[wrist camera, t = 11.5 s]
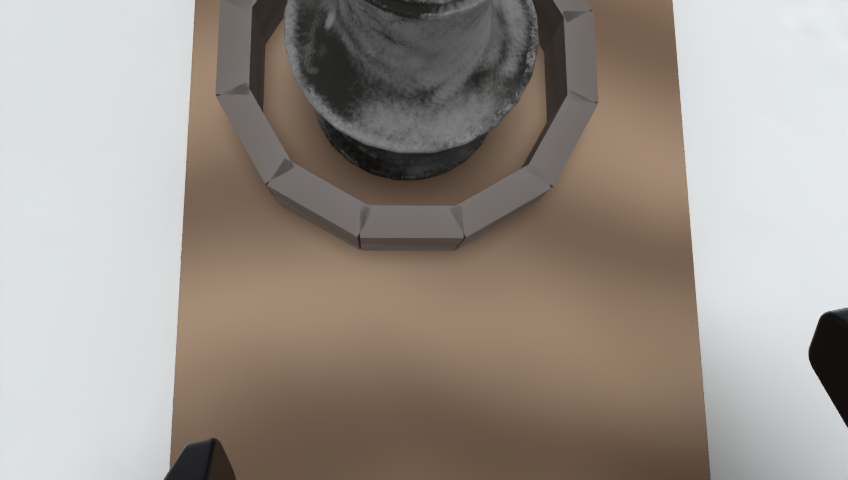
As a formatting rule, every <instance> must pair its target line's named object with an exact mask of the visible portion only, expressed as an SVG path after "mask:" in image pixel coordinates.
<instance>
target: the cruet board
mask: <svg viewBox="0 0 848 480" xmlns="http://www.w3.org/2000/svg"><path fill="white" fill-rule="evenodd" d="M287 1H288V0H195V15H194V33H193V52H192V70H191V88H190V106H189V125H188V143H187V161H186V179H185V198H184V216H183V234H182V252H181V271H180V289H179V307H178V325H177V344H176V362H175V380H174V398H173V417H172V435H171V453H170V469H171V467H172V466H173V464H174V463H175V461H176V459H177V458H178V456H179V455H180V453H181V452H182V450H183V448H184V447H185V446H186V445H187V444H189V443H191V442H194V441H199V440H204V439H209V438H217V439H218V440H219V441H220V442H221V444H222V446H223V448H224V450H225V453H226V455H227V457H228V459H229V461H230V464H231V466H232V468H233V470H234V473H235V477H236V480H710V468H709V455H708V442H707V430H706V417H705V405H704V392H703V380H702V367H701V354H700V342H699V329H698V317H697V304H696V292H695V279H694V266H693V254H692V241H691V229H690V216H689V204H688V191H687V178H686V166H685V153H684V141H683V128H682V116H681V103H680V90H679V78H678V65H677V53H676V40H675V28H674V15H673V2H672V0H532V2H533V5H534V8H535V11H536V14H537V23H538V39H539V48H538V52H537V57H536V62H535V66H534V71H533V75H532V78H531V79H530V81H529V83H528V85H527V87H526V89H525V91H524V92H523V94H522V96H521V98H520V100H519V102H518V103H517V105H516V106H515V107H514V108H513V109H512V110H511V111H510V112H509V113H508V114H507V115H506V116H505V117H504V118H503V120H502V121H501V122H500V123H499V124H498V125H497V126H496V127H495V128H493V129H492V130H490V131H489V132H488V134H487V136H486V138H485V140H484V141H483V143H482V145H481V146H480V147H479V148H478V149H477V150H476V151H475V152H474V153H473V154H472V155H471V156H470V157H469V158H468V159H467V160H466V161H465V162H463V163H462V164H460V165H458V166H457V167H455V168H453V169H452V170H450V171H448V172H446V173H445V174H441V175H438V176H434V177H430V178H427V179H423V180H392V179H388V178H384V177H380V176H376V175H372V174H370V173H368V172H366V171H365V170H363V169H361V168H359V167H357V166H355V165H354V164H352V163H350V162H349V161H348V160H347V159H346V158H344V157H343V156H342V155H341V154H340V153H339V152H338V151H337V150H336V149H335V148H334V147H333V146H332V145H331V143H330V142H329V140H328V139H327V137H326V135H325V134H324V132H323V130H322V129H321V127H320V126H319V123H318V119H317V116H316V112H315V109H314V108H313V107H312V106H311V105H310V104H309V102H308V100H307V99H306V97H305V96H304V94H303V92H302V91H301V89H300V87H299V86H298V84H297V83H296V81H295V79H294V78H293V75H292V71H291V68H290V64H289V61H288V57H287V53H286V50H285V46H284V11H285V8H286V5H287Z"/></svg>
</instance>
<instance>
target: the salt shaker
mask: <svg viewBox="0 0 848 480" xmlns="http://www.w3.org/2000/svg"><path fill="white" fill-rule="evenodd" d="M284 46H285V50H286V53H287V57H288V61H289V64H290V68H291V71H292V75H293V78H294V79H295V81H296V83H297V84H298V86H299V87H300V89H301V91H302V92H303V94H304V96H305V97H306V99H307V100H308V102H309V104H310V105H311V106H312V107H313V108H314V109H315V112H316V116H317V119H318V123H319V126H320V127H321V129H322V130H323V132H324V134H325V135H326V137H327V139H328V140H329V142H330V143H331V145H332V146H333V147H334V148H335V149H336V150H337V151H338V152H339V153H340V154H341V155H342V156H343V157H344V158H346V159H347V160H348V161H349V162H350V163H352V164H354V165H355V166H357V167H359V168H361V169H363V170H365V171H366V172H368V173H370V174H372V175H376V176H380V177H384V178H388V179H392V180H423V179H427V178H430V177H434V176H438V175H441V174H445V173H446V172H448V171H450V170H452V169H453V168H455V167H457V166H458V165H460V164H462V163H463V162H465V161H466V160H467V159H468V158H469V157H470V156H471V155H472V154H473V153H474V152H475V151H476V150H477V149H478V148H479V147H480V146H481V145H482V143H483V141H484V140H485V138H486V136H487V134H488V132H489V131H490V130H492V129H493V128H495V127H496V126H497V125H498V124H499V123H500V122H501V121H502V120H503V118H504V117H505V116H506V115H507V114H508V113H509V112H510V111H511V110H512V109H513V108H514V107H515V106H516V105H517V103H518V102H519V100H520V98H521V96H522V94H523V92H524V91H525V89H526V87H527V85H528V83H529V81H530V79H531V78H532V75H533V71H534V66H535V62H536V57H537V52H538V48H539V39H538V23H537V14H536V11H535V8H534V5H533V2H532V0H288V1H287V5H286V8H285V11H284Z"/></svg>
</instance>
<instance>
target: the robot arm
mask: <svg viewBox="0 0 848 480" xmlns="http://www.w3.org/2000/svg"><path fill="white" fill-rule="evenodd" d="M809 360H810V363H811V366H812V368H813V370H814V371H815V373H816V375H817V376H818V378H819V380H820V381H821V383H822V385H823V387H824V388H825V390H826V392H827V393H828V395H829V397H830V398H831V400H832V402H833V404H834V405H835V407H836V409H837V410H838V412H839V414H840V416H841V417H842V419H843V421H844V422H845V424H846V426H847V427H848V308H843V309H838V310H833V311H828V312H826V313H824V314H823V315H822V316H821V317H820V319H819V322H818V324H817V327H816V330H815V333H814V336H813V339H812V341H811V344H810V347H809ZM164 480H236V477H235V473H234V470H233V468H232V466H231V464H230V461H229V459H228V457H227V455H226V453H225V450H224V448H223V446H222V444H221V442H220V441H219V440H218V439H217V438H209V439H204V440H199V441H194V442H191V443H189V444H187V445H186V446H185V447H184V448H183V450H182V452H181V453H180V455H179V456H178V458H177V459H176V461H175V463H174V464H173V466H172V467H171V469H170V470H169V472H168V474H167V475H166V477H165V478H164Z"/></svg>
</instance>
